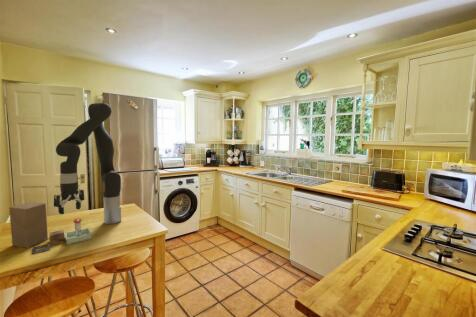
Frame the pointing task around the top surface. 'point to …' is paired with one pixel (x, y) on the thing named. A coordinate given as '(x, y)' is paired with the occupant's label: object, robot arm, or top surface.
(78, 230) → the pin
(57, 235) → the block
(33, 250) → the pin socket
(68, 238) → the tray
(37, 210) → the wooden block
